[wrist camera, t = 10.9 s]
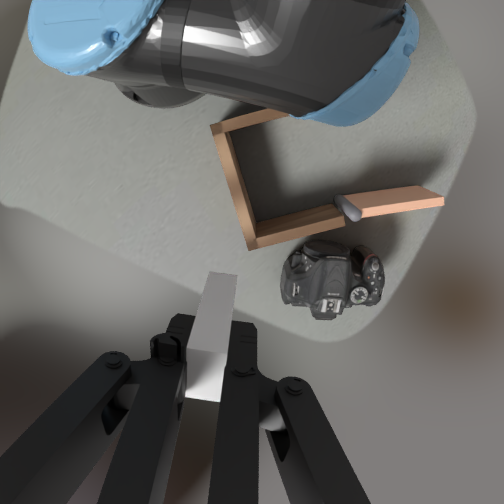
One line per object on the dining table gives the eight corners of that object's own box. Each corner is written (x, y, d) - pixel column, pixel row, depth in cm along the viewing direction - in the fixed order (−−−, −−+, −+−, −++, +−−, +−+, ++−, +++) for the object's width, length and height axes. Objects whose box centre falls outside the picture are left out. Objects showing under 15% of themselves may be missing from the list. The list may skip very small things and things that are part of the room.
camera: (362, 216, 41) (390, 241, 32) (375, 280, 44) (400, 317, 35) (266, 245, 43) (269, 279, 33) (287, 307, 46) (294, 350, 37)
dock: (216, 125, 37) (209, 125, 31) (306, 101, 36) (314, 97, 30) (249, 233, 42) (248, 251, 36) (333, 212, 41) (345, 225, 35)
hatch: (417, 183, 39) (445, 195, 32) (418, 197, 39) (445, 212, 32) (333, 195, 40) (348, 209, 33) (335, 210, 40) (350, 227, 33)
